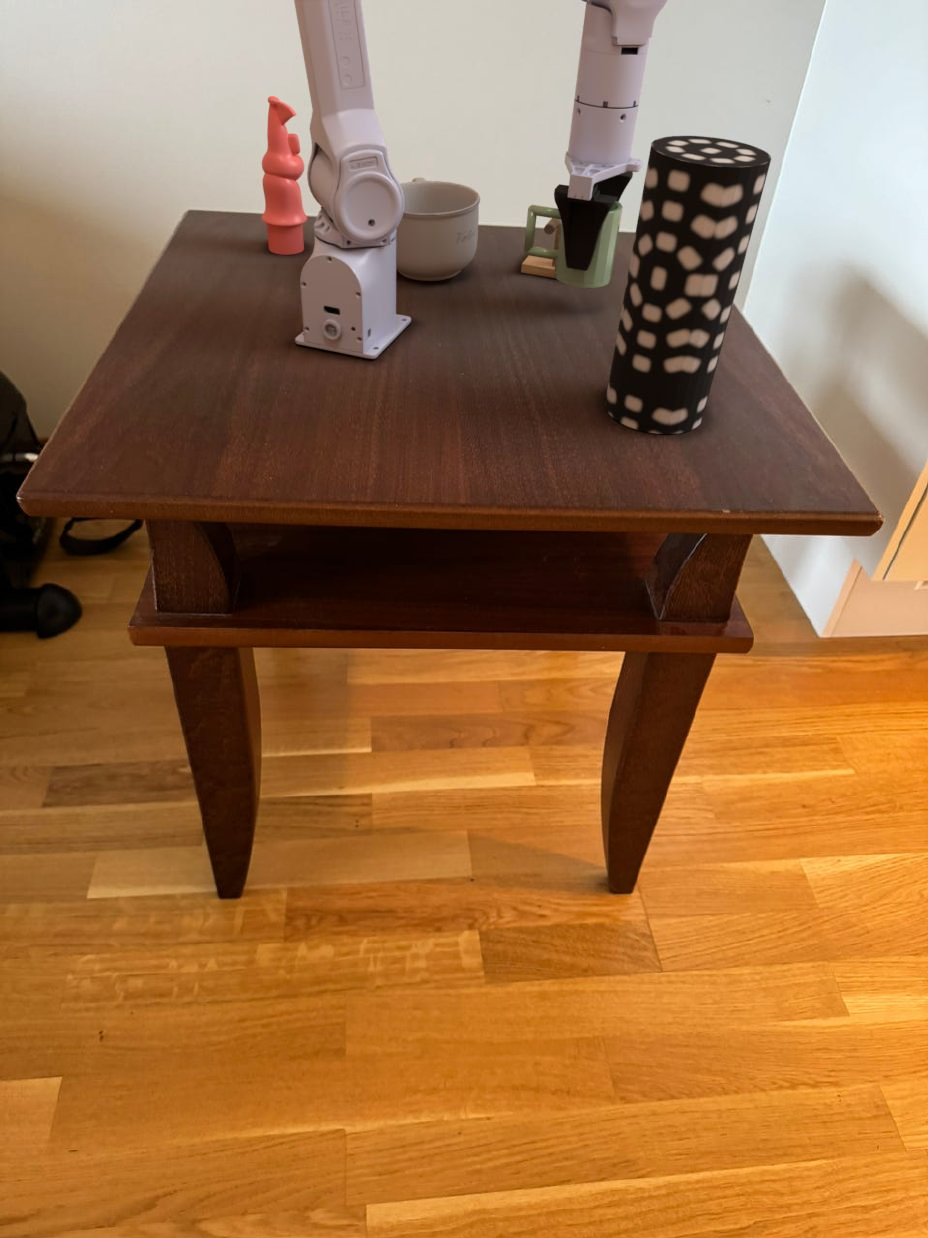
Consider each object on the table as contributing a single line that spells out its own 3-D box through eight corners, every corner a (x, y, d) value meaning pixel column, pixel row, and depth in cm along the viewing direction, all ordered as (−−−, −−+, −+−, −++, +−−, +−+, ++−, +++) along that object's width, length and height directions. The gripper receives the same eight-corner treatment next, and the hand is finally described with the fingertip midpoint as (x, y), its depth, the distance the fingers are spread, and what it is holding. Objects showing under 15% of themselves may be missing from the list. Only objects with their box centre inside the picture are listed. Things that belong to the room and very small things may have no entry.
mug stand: (559, 302, 91) (569, 222, 86) (504, 292, 92) (511, 212, 87) (584, 264, 100) (595, 189, 95) (534, 255, 101) (542, 180, 96)
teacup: (474, 293, 91) (480, 212, 86) (371, 286, 91) (370, 205, 86) (476, 247, 102) (480, 173, 97) (383, 242, 102) (383, 167, 96)
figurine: (320, 247, 99) (312, 96, 89) (290, 259, 96) (278, 104, 86) (285, 237, 101) (273, 88, 91) (255, 249, 98) (239, 95, 88)
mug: (614, 272, 89) (627, 199, 84) (603, 291, 85) (616, 216, 80) (529, 258, 91) (537, 186, 86) (514, 276, 87) (521, 201, 82)
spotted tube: (636, 378, 78) (686, 129, 65) (719, 410, 75) (790, 153, 62) (585, 409, 73) (628, 147, 60) (672, 445, 70) (738, 174, 57)
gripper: (636, 124, 71) (609, 290, 80) (663, 92, 82) (636, 242, 91) (553, 112, 73) (535, 277, 82) (590, 82, 83) (570, 231, 92)
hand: (584, 258), depth 86 cm, fingers closed on mug, 5 cm apart
